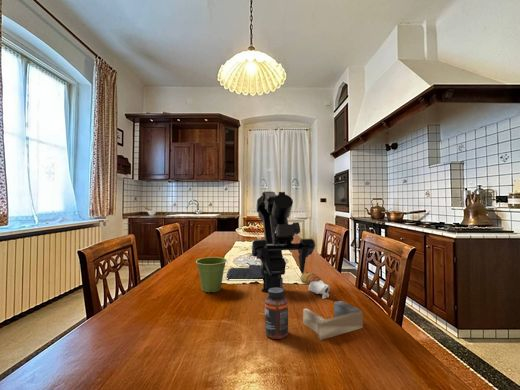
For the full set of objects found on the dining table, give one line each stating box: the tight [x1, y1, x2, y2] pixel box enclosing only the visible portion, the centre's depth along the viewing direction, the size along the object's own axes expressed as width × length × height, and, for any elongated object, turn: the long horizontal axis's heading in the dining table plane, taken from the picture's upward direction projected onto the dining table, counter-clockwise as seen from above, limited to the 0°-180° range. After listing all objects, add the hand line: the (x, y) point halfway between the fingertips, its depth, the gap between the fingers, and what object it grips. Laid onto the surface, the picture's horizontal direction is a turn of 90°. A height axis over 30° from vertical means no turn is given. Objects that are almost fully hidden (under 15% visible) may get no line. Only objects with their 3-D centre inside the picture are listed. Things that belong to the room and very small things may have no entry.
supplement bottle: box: [264, 288, 289, 340], centre depth 69 cm, size 6×6×11 cm
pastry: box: [299, 271, 323, 286], centre depth 112 cm, size 9×7×4 cm
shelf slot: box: [302, 300, 364, 341], centre depth 73 cm, size 9×14×4 cm, turn 116°
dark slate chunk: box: [226, 264, 263, 280], centre depth 123 cm, size 15×22×5 cm
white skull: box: [307, 279, 331, 300], centre depth 98 cm, size 5×7×10 cm
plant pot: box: [195, 256, 228, 293], centre depth 104 cm, size 12×12×11 cm
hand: (286, 274), depth 77 cm, fingers open, 9 cm apart
